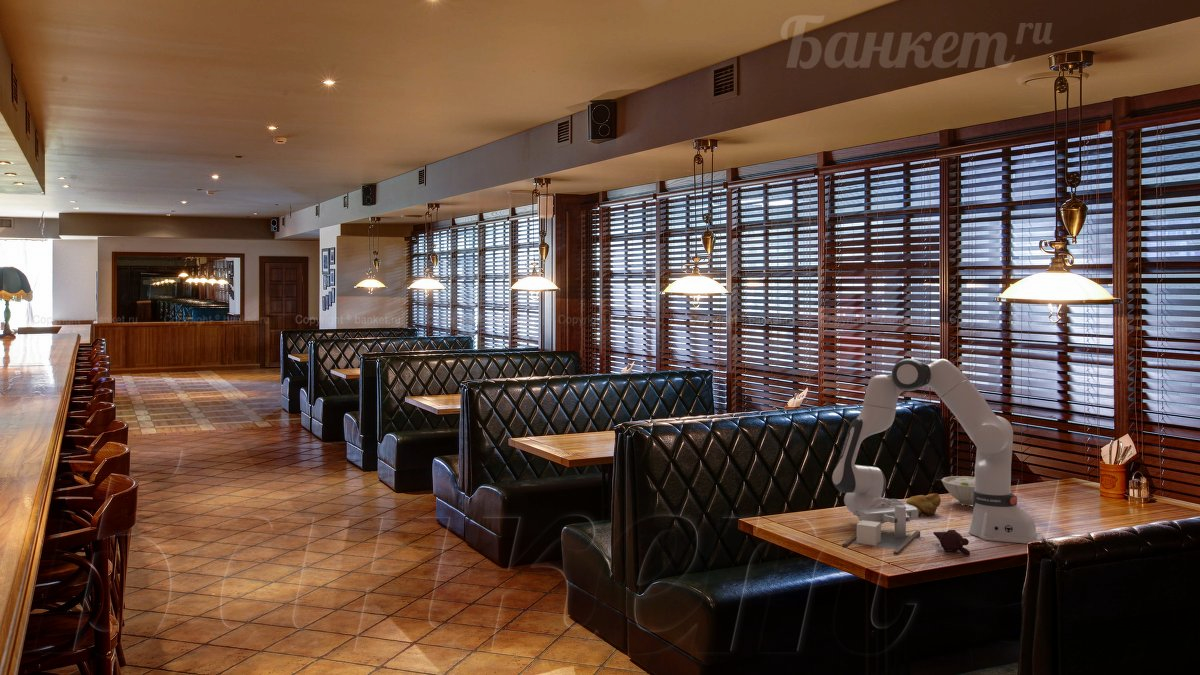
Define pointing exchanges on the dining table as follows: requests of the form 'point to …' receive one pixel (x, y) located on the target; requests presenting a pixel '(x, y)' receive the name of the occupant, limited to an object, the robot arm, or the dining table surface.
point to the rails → (897, 551)
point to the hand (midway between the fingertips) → (901, 519)
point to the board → (888, 540)
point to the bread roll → (925, 503)
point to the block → (868, 532)
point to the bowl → (960, 488)
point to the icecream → (952, 541)
